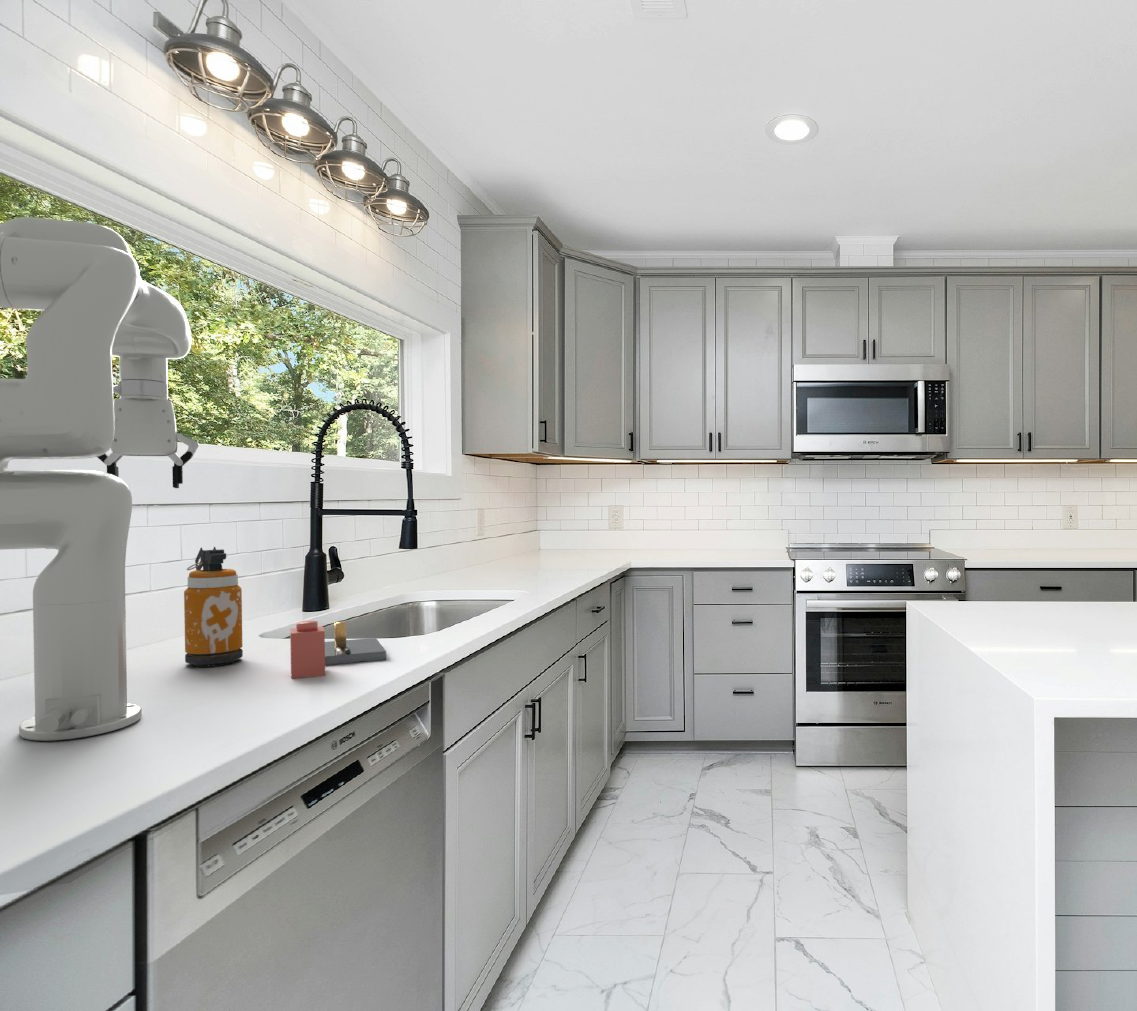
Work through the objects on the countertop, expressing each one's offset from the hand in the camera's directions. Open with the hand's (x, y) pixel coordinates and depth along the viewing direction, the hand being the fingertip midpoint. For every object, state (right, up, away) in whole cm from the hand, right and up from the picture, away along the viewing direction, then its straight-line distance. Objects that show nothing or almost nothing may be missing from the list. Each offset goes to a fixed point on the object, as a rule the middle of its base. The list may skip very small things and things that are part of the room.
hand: (145, 488), depth 132 cm
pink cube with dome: (+34, -30, -14) cm, 48 cm away
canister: (+14, -31, -4) cm, 34 cm away
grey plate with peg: (+35, -30, -1) cm, 46 cm away
